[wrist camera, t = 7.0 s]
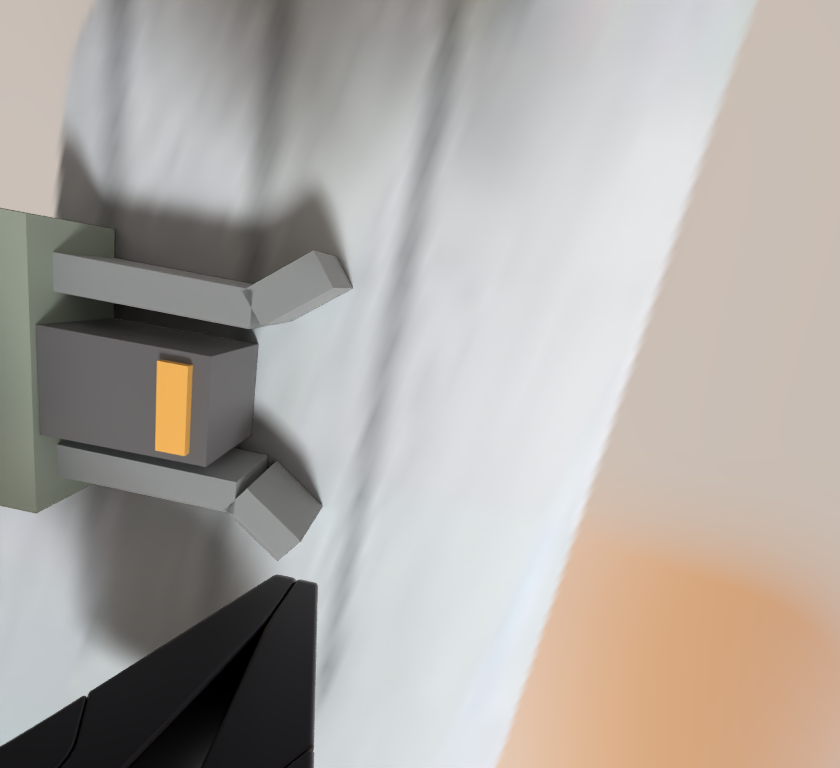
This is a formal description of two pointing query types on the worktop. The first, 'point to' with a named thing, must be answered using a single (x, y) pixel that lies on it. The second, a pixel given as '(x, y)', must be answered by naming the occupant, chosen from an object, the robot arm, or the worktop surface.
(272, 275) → the grey blocky piece
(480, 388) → the worktop surface
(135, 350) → the grey rectangular block
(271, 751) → the robot arm
